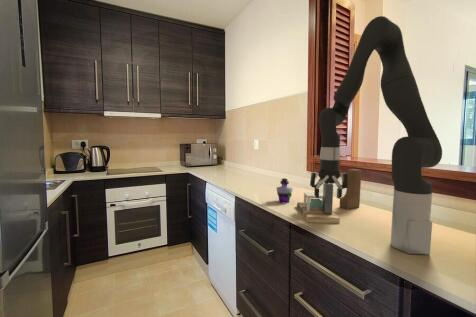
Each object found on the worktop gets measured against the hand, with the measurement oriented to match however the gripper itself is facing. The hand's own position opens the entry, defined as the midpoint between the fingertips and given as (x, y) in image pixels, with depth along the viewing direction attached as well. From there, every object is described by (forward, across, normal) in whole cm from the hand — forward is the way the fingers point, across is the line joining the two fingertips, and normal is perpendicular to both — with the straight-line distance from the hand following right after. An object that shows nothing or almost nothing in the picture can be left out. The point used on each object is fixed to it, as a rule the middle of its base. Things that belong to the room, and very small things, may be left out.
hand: (327, 197), depth 101 cm
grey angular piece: (+6, -3, +3) cm, 8 cm away
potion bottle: (+9, -14, +25) cm, 30 cm away
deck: (+8, -3, +5) cm, 10 cm away
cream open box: (+6, -3, +6) cm, 9 cm away
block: (+6, -3, +6) cm, 9 cm away
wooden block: (+9, +16, +17) cm, 25 cm away
